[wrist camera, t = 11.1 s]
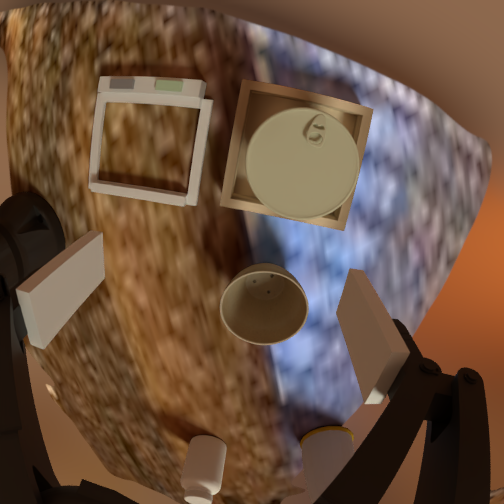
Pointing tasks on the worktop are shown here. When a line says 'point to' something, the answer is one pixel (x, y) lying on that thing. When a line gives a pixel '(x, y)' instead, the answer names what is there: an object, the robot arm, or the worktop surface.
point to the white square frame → (159, 94)
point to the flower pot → (264, 305)
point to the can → (302, 163)
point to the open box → (262, 107)
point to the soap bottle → (325, 456)
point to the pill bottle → (203, 469)
